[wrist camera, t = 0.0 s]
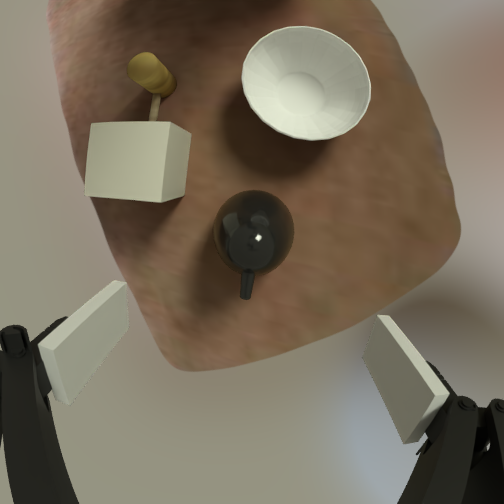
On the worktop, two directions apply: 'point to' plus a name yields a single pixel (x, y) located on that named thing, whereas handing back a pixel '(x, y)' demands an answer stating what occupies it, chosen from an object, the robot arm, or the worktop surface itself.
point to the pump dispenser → (253, 235)
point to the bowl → (306, 83)
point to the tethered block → (152, 79)
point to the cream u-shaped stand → (137, 161)
